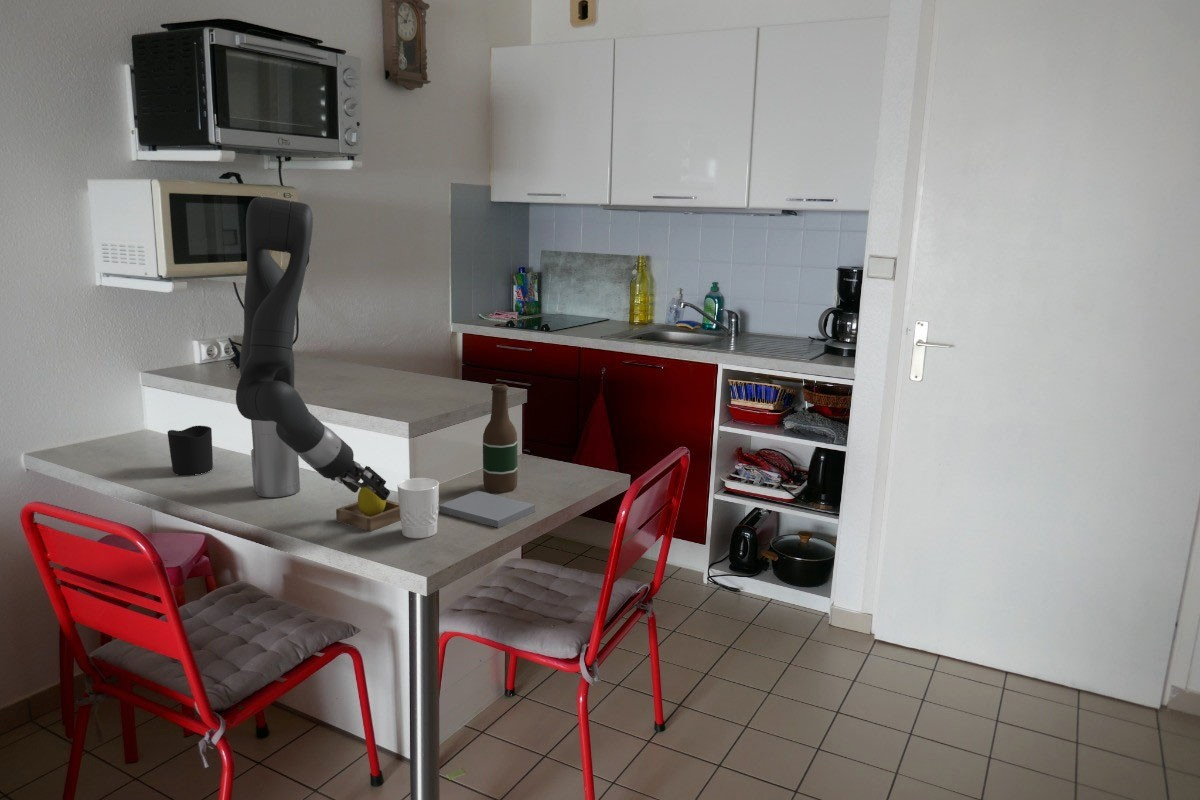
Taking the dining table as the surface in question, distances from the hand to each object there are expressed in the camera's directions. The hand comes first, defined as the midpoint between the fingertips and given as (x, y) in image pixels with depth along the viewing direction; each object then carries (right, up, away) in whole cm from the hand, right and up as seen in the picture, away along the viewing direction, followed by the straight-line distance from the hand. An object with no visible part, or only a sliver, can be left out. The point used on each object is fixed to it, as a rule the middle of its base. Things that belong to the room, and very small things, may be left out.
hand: (371, 492), depth 178 cm
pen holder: (-51, +2, +31) cm, 59 cm away
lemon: (0, -6, +1) cm, 6 cm away
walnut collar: (0, -6, +1) cm, 6 cm away
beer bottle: (+24, -2, +22) cm, 33 cm away
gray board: (+23, -5, +7) cm, 24 cm away
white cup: (+11, -8, -6) cm, 14 cm away
